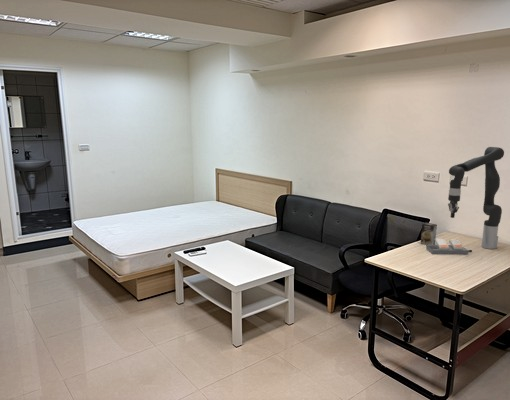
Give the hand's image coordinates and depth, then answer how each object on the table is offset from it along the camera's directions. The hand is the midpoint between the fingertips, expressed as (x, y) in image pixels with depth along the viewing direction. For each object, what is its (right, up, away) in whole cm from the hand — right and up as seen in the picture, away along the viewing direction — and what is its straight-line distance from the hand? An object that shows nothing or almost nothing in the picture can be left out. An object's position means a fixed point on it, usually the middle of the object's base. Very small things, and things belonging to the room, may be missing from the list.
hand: (452, 217), depth 280 cm
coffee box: (-9, -22, +20) cm, 31 cm away
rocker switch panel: (0, -25, +2) cm, 25 cm away
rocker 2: (+3, -20, +1) cm, 20 cm away
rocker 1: (-7, -20, +1) cm, 21 cm away
